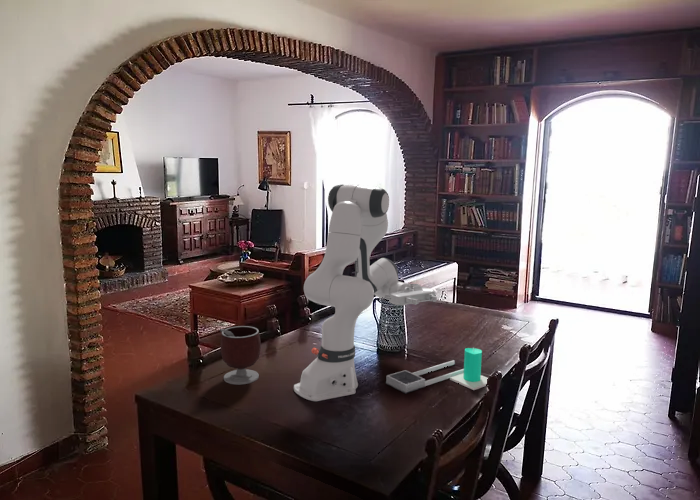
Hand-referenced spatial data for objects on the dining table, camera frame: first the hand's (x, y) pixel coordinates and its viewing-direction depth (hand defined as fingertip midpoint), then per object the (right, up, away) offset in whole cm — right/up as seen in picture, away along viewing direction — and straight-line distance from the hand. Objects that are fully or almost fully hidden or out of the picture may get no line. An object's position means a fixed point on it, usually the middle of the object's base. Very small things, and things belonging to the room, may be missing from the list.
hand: (426, 300), depth 205 cm
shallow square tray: (-10, -28, -15) cm, 33 cm away
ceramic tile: (+15, -28, -11) cm, 33 cm away
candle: (+15, -27, -11) cm, 32 cm away
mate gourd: (-68, -27, -11) cm, 74 cm away
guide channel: (+4, -26, -5) cm, 27 cm away
